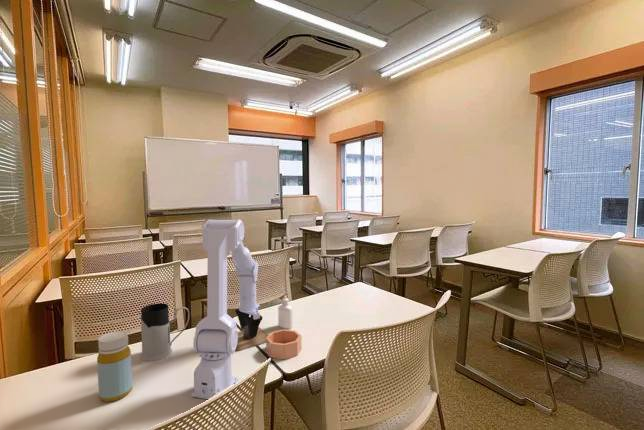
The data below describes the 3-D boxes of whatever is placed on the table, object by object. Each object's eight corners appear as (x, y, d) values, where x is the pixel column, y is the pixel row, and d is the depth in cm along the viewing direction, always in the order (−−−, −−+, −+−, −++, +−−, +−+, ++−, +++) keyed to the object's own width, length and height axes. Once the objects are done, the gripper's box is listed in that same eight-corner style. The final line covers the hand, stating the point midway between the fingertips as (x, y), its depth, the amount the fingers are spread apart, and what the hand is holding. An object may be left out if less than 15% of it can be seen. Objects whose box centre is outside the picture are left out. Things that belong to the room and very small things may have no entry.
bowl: (294, 360, 95) (293, 346, 95) (262, 356, 98) (261, 342, 97) (304, 344, 105) (304, 331, 105) (275, 341, 108) (275, 328, 107)
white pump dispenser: (282, 330, 116) (282, 298, 115) (277, 325, 121) (277, 294, 120) (293, 328, 118) (293, 296, 117) (288, 323, 123) (287, 292, 122)
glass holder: (141, 351, 101) (139, 305, 100) (189, 341, 108) (187, 298, 107) (140, 364, 94) (138, 314, 92) (191, 352, 100) (190, 306, 99)
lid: (237, 353, 101) (237, 339, 101) (223, 338, 111) (223, 325, 111) (274, 341, 109) (274, 328, 108) (258, 329, 119) (257, 317, 119)
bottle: (137, 385, 83) (135, 329, 82) (122, 402, 76) (119, 342, 75) (110, 385, 83) (108, 330, 82) (92, 403, 76) (89, 343, 75)
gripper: (267, 297, 105) (268, 337, 106) (250, 287, 117) (251, 322, 118) (247, 302, 101) (248, 343, 102) (231, 290, 113) (232, 327, 114)
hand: (248, 332), depth 110 cm, fingers open, 7 cm apart
